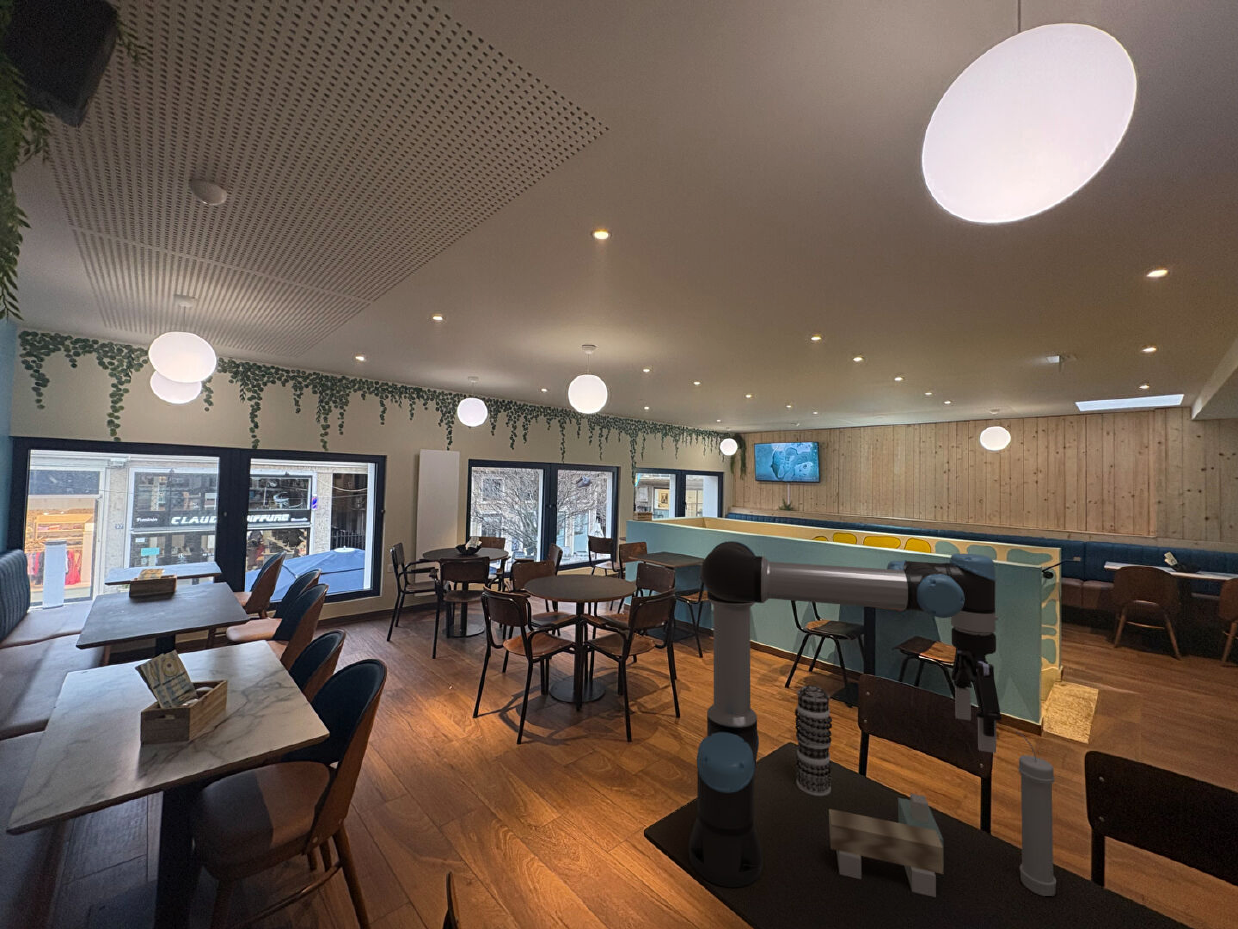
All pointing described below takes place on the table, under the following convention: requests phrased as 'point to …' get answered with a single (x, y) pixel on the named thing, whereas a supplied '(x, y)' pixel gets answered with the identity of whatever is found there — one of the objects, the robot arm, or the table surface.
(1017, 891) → the table surface
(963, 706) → the robot arm
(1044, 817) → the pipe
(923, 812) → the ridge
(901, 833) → the wooden block
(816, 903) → the table surface
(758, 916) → the table surface
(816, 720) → the studded grey cylinder
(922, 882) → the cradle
